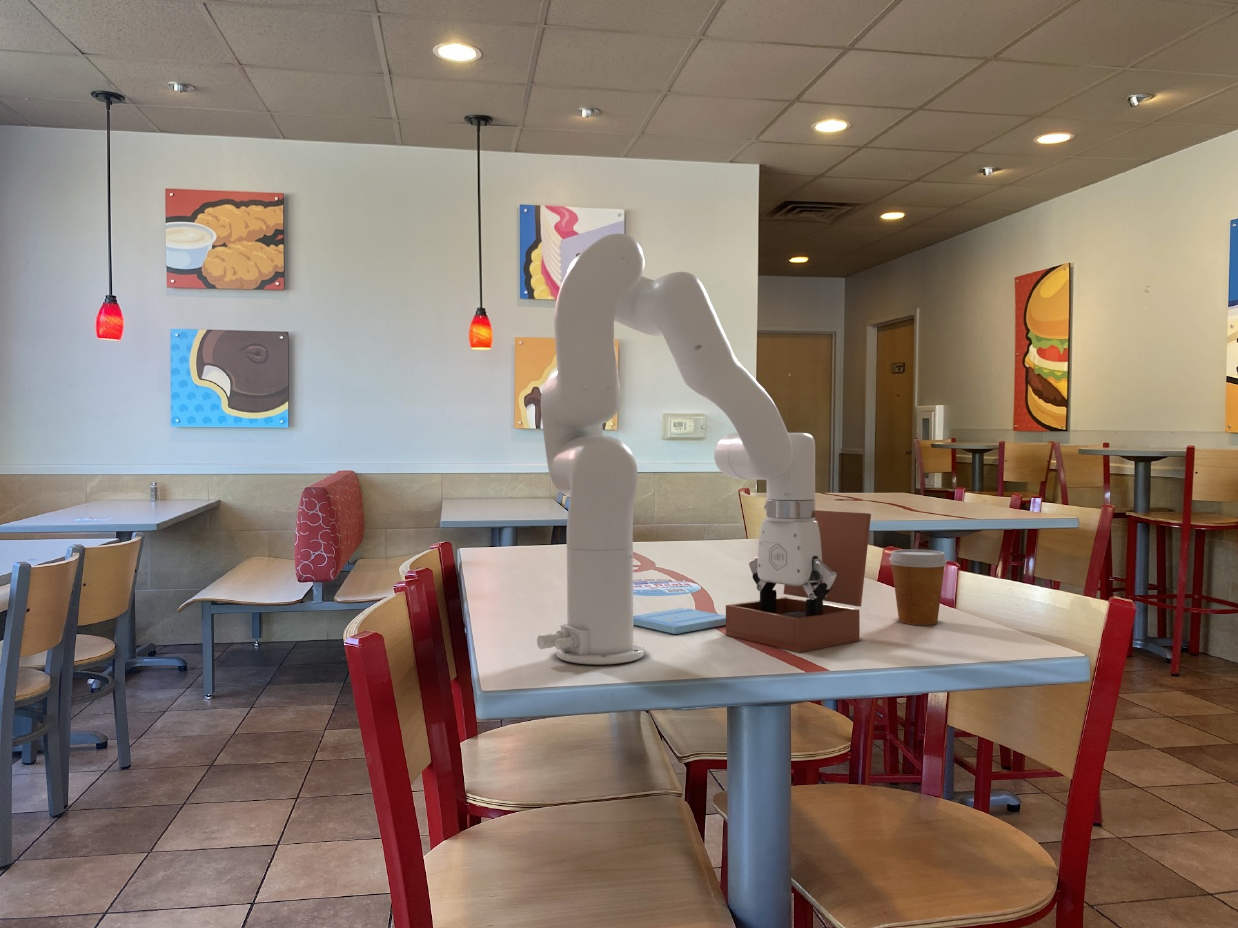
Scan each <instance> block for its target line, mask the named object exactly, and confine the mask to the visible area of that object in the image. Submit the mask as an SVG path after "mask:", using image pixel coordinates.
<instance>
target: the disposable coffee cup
mask: <svg viewBox="0 0 1238 928" xmlns="http://www.w3.org/2000/svg"><path fill="white" fill-rule="evenodd" d="M888 561H889V563H890V565H891V570H892V576H893V578H892V579H893V586H894V591H895V592H894V593H895V594H894V595H895V601H896V609H897V616H898V617H897V618H898V621H899V622H900V623H903V624H907V625H913V626H914V625H915V626H932V625H937V624H938V621H939V613H940V605H941V597H942V591H943V590H942V589H943V581H944V574H945V566H947V563H948V559H947V558H946V554H945V552H943V551H939V550H933V549H931V550H930V549H895V550H892V551H891V552H890V557H889V558H888Z"/></svg>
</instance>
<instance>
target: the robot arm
mask: <svg viewBox="0 0 1238 928" xmlns="http://www.w3.org/2000/svg"><path fill="white" fill-rule="evenodd" d="M644 269H645V256H644V251H643V249H642V247H641V245H640V243H639V242H638V241H637V240H636V239H635V238H634V237H633V236H631V235H629V234H625V233H610V234H607V235H605V236H602V237H601V238H599V239H597V240H596V241H595V242H593V243H592V244H591V245H589V246H588V247H587V248H586V249H584V250H583V251H581V252H580V253H579V254H578V255H577V256H575V257H574V258H573V259H572V261H571V262H570V264H569V265H568V268H567V272H566V274H565V276H564V279H563V281H562V283H561V285H560V287H559V290H558V293H557V298H556V301H555V305H554V316H553V318H554V319H553V320H554V321H553V326H554V341H555V344H554V345H555V356H556V370H555V371H554V372H553V373H552V374H551V375H549V377H548V378H547V379H546V381H545V383H544V385H543V387H542V390H541V394H540V415H541V425H542V432H543V441H544V448H545V456H546V465H547V469H548V473H549V477H550V480H551V481H552V483H553V485H554V487H555V488H556V489H557V490H558V492H560V494H562V495H564V496H566V497H569V505H568V509H567V510H568V511H567V519H566V592H567V593H566V623H565V624H560V629H559V630H557V631H556V632H555V633H546V634H540V635H538V636H537V638H536V644H537V647H538V649H540V650H545V649H552V648H555V649H556V656H557V658H558V659H560V660H563V661H565V662H568V663H574V664H579V665H581V664H582V665H597V666H599V665H600V666H601V665H616V664H617V665H618V664H624V663H631V662H633V661H637V660H639V659H641V658H643V657H644V655H645V647H644V645H643V644H641V643H640V642H636V641H634V625H633V616H634V545H633V544H634V542H633V541H634V539H633V536H634V534H633V533H634V531H633V530H634V510H635V508H634V507H635V501H636V496H637V495H636V493H637V487H638V477H639V476H638V475H639V474H638V473H639V472H638V464H637V460H636V458H635V455H634V453H633V452H632V450H631V449H630V448H629V447H628V446H627V444H625V442H623V441H622V440H620V439H618V438H617V437H613V436H611V435H605V434H604V429H603V424H605V423H608V422H609V421H611V420H612V419H613V418H614V417H615V416H616V415H617V414H618V412H619V409H620V408H621V404H622V389H621V383H620V376H619V367H618V360H617V351H616V343H615V322H616V323H618V324H621V325H623V326H625V327H627V328H630V329H632V330H634V331H637V332H640V333H643V334H645V335H649V336H656V337H657V336H658V337H659V336H663V339H664V341H665V342H666V345H667V347H668V349H669V352H670V353H671V355H672V357H673V359H674V362H675V364H676V367H677V369H678V371H679V373H680V375H681V378H682V380H683V382H684V384H685V385H686V386H688V388H690V389H691V390H693V391H694V392H695V393H696V394H698V395H700V396H702V397H704V398H705V399H706V400H708V401H710V402H712V403H713V404H714V405H716V406H717V407H718V408H719V409H720V410H721V411H722V412H723V413H724V414H725V416H726V417H727V418H728V419H729V421H730V422H731V423H732V425H733V427H734V429H735V430H736V431H734V432H731V433H728V434H726V435H725V436H723V437H722V438H720V440H719V441H718V442H717V444H716V446H715V448H714V452H713V453H714V454H713V457H714V463H715V465H716V468H717V469H718V470H719V471H720V472H721V473H722V474H724V475H725V476H727V477H729V478H732V479H735V480H746V481H747V480H750V481H751V480H754V481H755V480H757V481H759V480H760V481H766V502H765V503H764V504H763V509H764V510H765V511H766V518H763V519H762V521H761V526H760V530H759V531H760V532H759V539H758V547H757V557H755V558H754V559H752V560H750V561H749V563H748V566H749V569H750V572H751V574H752V579H753V581H754V582H755V584H756V590H757V592H759V600H760V611H764V612H769V613H775V614H776V606H777V598H778V596H777V593H778V592H777V589H774V588H775V586H776V585H777V584H778V585H783V586H784V585H790V586H801V585H802V586H803V588H804V590H805V591H806V593H807V595H808V597H809V598H805V600H806V617H809V616H815V615H821V614H823V604H824V601H823V599H824V598H826V597H827V594H828V592H829V591H830V590H831V589H832V584H833V583H834V580H835V578H836V572H835V571H834V570H832V569H831V568H830V567H829V566H827V565H826V564H825V563H824V562H822V548H821V539H820V532H819V527H818V522H817V521H815V510H816V440H815V438H814V436H812V435H811V434H810V433H806V432H788V430H787V427H786V425H785V421H783V417H782V416H781V413H780V411H779V409H778V407H777V405H776V404H775V402H774V400H773V399H772V396H770V395H769V394H768V391H766V390H765V388H764V387H763V386H762V385H761V384H760V383H759V382H758V381H757V380H756V379H755V377H754V376H753V375H752V374H751V373H750V372H749V371H748V370H747V368H745V367H744V366H743V365H742V364H741V363H740V362H739V361H738V359H737V357H736V355H735V353H734V351H733V349H732V346H731V344H730V342H729V340H728V337H727V335H726V333H725V331H724V329H723V326H722V324H721V322H720V320H719V318H718V315H717V312H716V310H715V308H714V306H713V304H712V302H711V300H710V297H709V295H708V292H707V290H706V288H705V287H704V285H703V283H702V282H701V280H700V279H699V278H698V277H697V276H696V275H695V274H693V273H690V272H687V271H675V272H670V273H667V274H665V275H662V276H660V277H657V278H656V279H652V278H649V277H645V276H643V273H644ZM822 576H823V579H822ZM821 579H822V583H820V581H821ZM812 586H813V587H814V589H815V590H814V589H813V587H812Z"/></svg>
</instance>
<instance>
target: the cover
mask: <svg viewBox="0 0 1238 928" xmlns="http://www.w3.org/2000/svg"><path fill="white" fill-rule="evenodd" d="M871 519H872V513H867V512H853V511H850V512H849V511H835V510H834V511H832V510H817V509H815V521H817V522H818V527H819V532H820V539H821V548H822V562H824V563H825V564H826V565H827V566H829V567H830V568H831V569H832V570H834V571H835V572H836V578H835V580H834V583H833V584H832V589H831V590H830V591H829V592H828V594H827V597H826V598H824V599H823V602H829V603H835V604H841V605H846V606H853V607H859V608H861V607H862V602H863V595H864V594H863V592H864V583H865V574H866V564H867V558H868V557H867V555H868V546H869V539H870V527H871ZM822 579H823V576H822ZM822 579H821V581H820V583H822ZM812 587H813V586H812ZM813 589H814V587H813ZM814 590H815V589H814ZM783 595H787V596H793V597H798V598H805V599H810V598H809V597H808V595H807V593H806V591H805V590H804V588H803V586H802V585H801V586H790V585H784V584H783Z"/></svg>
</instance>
